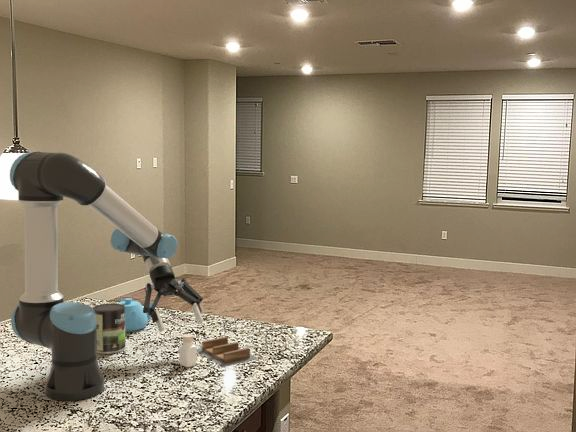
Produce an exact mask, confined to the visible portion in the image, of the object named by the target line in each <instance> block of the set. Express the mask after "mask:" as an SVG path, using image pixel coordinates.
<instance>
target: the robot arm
mask: <svg viewBox="0 0 576 432" xmlns="http://www.w3.org/2000/svg"><path fill="white" fill-rule="evenodd" d="M9 170H10V171H9V179H10V183H11V185H12V186H13V188H14V189H15V190H16V191H17V193H18V202H19V203H20V204H21V205H22V206H23V207H24V293H22V294H21V296H19V300H18V302H19V303H18V304H17V305H16V306H15V309H14V310H13V311H12V313H11V317H10V323H11V329H12V332H13V333H14V334H15V335H16V337H17V338H19V339H20V340H23V341H25V342H26V343H27V344H31V345H37V346H40V347H44V348H48V349H50V351H51V367H50V370H49V373H48V378H47V381H46V384H45V395H46V396H47V398H49V399H51V400H55V401H61V402H72V401H73V402H74V401H80V400H81V401H82V400H85V399H88V398H89V399H90V398H92V397H94V396H96V395H99V394H101V392H102V391H104V389H105V378H104V376H103V373H102V371H101V368H100V365H99V362H98V357H97V356H98V353H97V329H96V326H97V321H96V316H95V311H94V309H93V307H92V306H90V305H89V304H86V303H83V302H73V301H68V302H67V301H65V302H64V294H62V293H61V292H60V291H59V289H58V288H59V287H58V284H59V283H58V282H59V281H58V277H59V274H58V272H59V271H58V269H59V264H58V262H59V261H58V258H59V255H58V252H59V251H58V250H59V249H58V245H59V244H58V243H59V241H58V238H59V237H58V234H59V233H58V225H59V224H58V214H59V213H58V207H59V206H60V205H61V204H62V203H63V202H64V198H68V199H71V200H73V201H74V202H76V203H78V204H79V205H80V206H82V207H88V208H90V209H91V210H92V211H94V212H95V213H97V214H98V215H99V216H101V217H102V218H103V219H104V220H105V221H107V222H109V224H111V225H112V226H113V227H114V228H115V229H114V231H113V232H112V233H111V236H110V240H109V241H110V244H111V248H113V249H114V250H115V251H118V252H121V253H126V254H127V253H128V254H132V255H136V256H140V257H142V260H143V262H144V264H145V266H146V269H147V273H148V274H149V278H150V281H151V283H150V282H147V284H146V285H145V287H144V291H145V297H144V302H143V313H148V314H149V315H151V318H150V319H152V320H151V321H152V322H153V323H155V324H156V326H157V329H158V332H159V333H162V332H163V331H164V329H165V325H164V322H163V320H162V317H161V314H160V312H159V309H156V308H157V306H158V304H159V301H160V300H161V297H162V296H163V297H167V296H176V297H179V298H180V299H182V300H183V301H184V302H186V303H188V304H189V305H191V310H192V312H193V315H194V317H195V320H196V322H197V325H199V326H200V325H202V324H203V321H204V318H203V316H202V307H201V305H200V304H201V303H202V302H203V300H204V298H203V297H202V296H201V294H199V293H198V292H197V291H196V290H195V289H194V288H193V287H192V285H191V286H190V284H189V283H188V282H187V280H186V278H185V277H184V278H181V279H180V280H177V279H176V277H175V276H176V275H175V274H174V270H173V268H172V266H171V262H170V260H169V259H171V258H173V257H174V256H175V255H176V253H177V251H178V244H179V243H178V240H177V238H176V237H175V235H173V234H169V233H163V232H162V231H161V230H159V229H158V228H157V227H156V226H154V224H152V223H151V222H150V221H149V220H148V219H146V218H145V217H144V216H143V215H142V214H141V213H139V211H137V210H136V209H135V208H134V207H132V206H131V205H130V204H129V203H128V202H126V200H125V199H123V198H122V197H121V196H120V195H119V194H117V192H115V191H114V190H113V189H111V188H110V187H109V186H108V185H107V181H106V179H105V178H104V177H103V175H101V174H100V173H99V172H97V171H96V170H95V169H93V168H92V167H91V166H90V165H88V163H85V162H84V161H83V160H81V159H79V158H78V157H76V156H74V155H71V154H68V153H65V152H50V151H48V152H45V151H31V152H25V153H23V154H21V155H19V156H18V157H17V158H16V159H15V160H14V161H13V163H12V165H11V167H10V169H9ZM153 290H154V291H156V292H157V294H156V296H155V298H154V301H153V304H152V306H151V307H149V306H150V304H151V298H152V292H153Z"/></svg>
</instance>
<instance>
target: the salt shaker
mask: <svg viewBox="0 0 576 432" xmlns="http://www.w3.org/2000/svg"><path fill="white" fill-rule="evenodd" d="M196 349H197V346H196V344H194V334H192V333H185V334H182V345H180V346H179V355H178V356H179V365H180V366H182V367H185V368H190V367H193V366H196V365H197V364H198V363H197V362H198V361H197V359H198V358H197V353H198V352H197V351H196Z"/></svg>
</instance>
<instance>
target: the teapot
mask: <svg viewBox="0 0 576 432" xmlns="http://www.w3.org/2000/svg"><path fill="white" fill-rule="evenodd" d="M153 302H154V301H153ZM153 302H152V301H150V305H149V307H151V306H152V304H153ZM116 304H122V305H124V306H125V333H130V332H137V331H141V330H143V329H144V328H145V327H146V326H147V325H148V323H149V321H150V320H151V319H152V318H151V315H149V314H148V313H143V308H144V305H142V304H141V302H140V301H137V300H133V298H131V297H127V298H120V301H119V302H117V303H116Z"/></svg>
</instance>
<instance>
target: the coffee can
mask: <svg viewBox="0 0 576 432" xmlns="http://www.w3.org/2000/svg"><path fill="white" fill-rule="evenodd" d="M92 308H93V309H94V311H95V316H96V321H97V326H96V329H97V354H100V355H101V354H102V355H112V354H118V353H121V352H123V351H125V350H126V348H127V347H126V332H125V306H124V305H122V304H117V303H115V302H114V303H112V302H111V303H103V304H102V303H101V304H97V305H95V306H93V307H92Z"/></svg>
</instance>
